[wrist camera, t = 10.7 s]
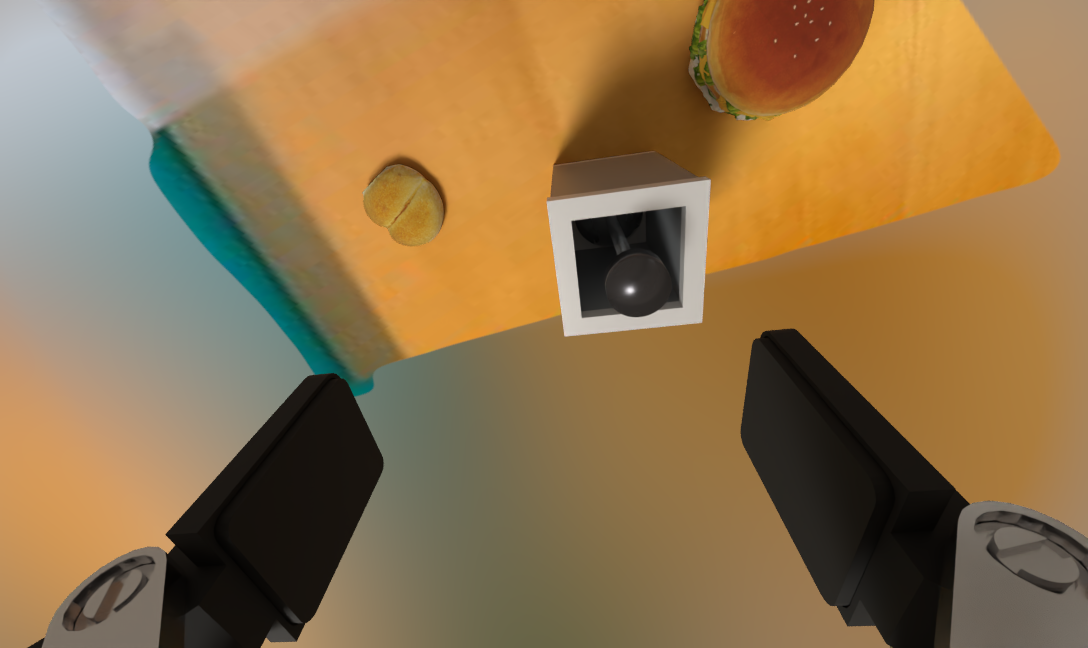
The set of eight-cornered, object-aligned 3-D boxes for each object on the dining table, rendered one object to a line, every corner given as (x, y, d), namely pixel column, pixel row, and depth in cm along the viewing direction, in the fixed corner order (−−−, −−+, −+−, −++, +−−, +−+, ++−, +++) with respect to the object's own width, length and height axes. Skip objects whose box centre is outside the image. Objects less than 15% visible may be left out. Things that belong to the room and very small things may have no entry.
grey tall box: (656, 148, 44) (710, 179, 28) (656, 248, 49) (702, 322, 33) (551, 163, 45) (546, 201, 29) (563, 260, 50) (564, 336, 34)
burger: (825, -86, 34) (915, -147, 25) (833, 86, 40) (908, 85, 32) (668, -9, 37) (700, -41, 28) (697, 141, 43) (732, 153, 34)
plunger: (641, 171, 43) (699, 227, 25) (642, 239, 47) (693, 330, 29) (570, 181, 44) (577, 242, 26) (577, 247, 48) (588, 341, 30)
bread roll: (418, 254, 51) (407, 265, 47) (358, 199, 48) (343, 208, 44) (461, 210, 48) (454, 219, 44) (401, 149, 45) (388, 153, 41)
